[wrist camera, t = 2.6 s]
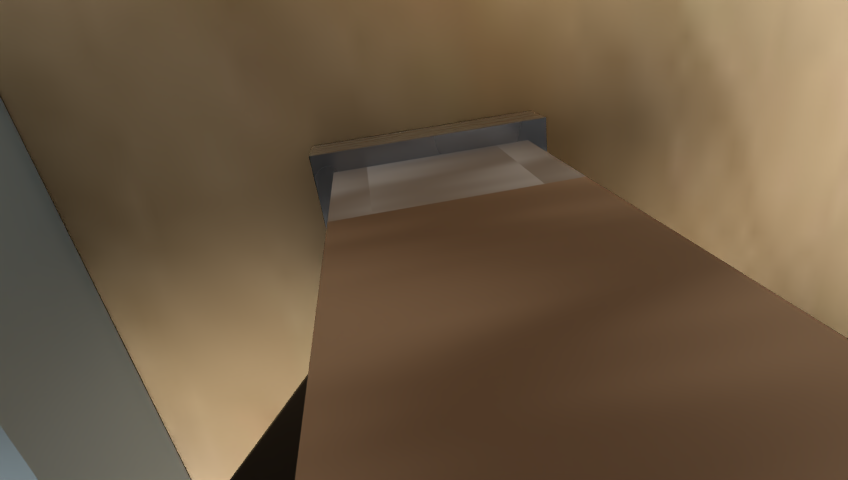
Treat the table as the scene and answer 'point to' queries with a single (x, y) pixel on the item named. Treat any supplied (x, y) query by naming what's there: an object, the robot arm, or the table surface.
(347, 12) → the table surface
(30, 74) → the table surface
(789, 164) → the table surface
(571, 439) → the strut
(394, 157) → the knob on square plate
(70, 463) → the bin
